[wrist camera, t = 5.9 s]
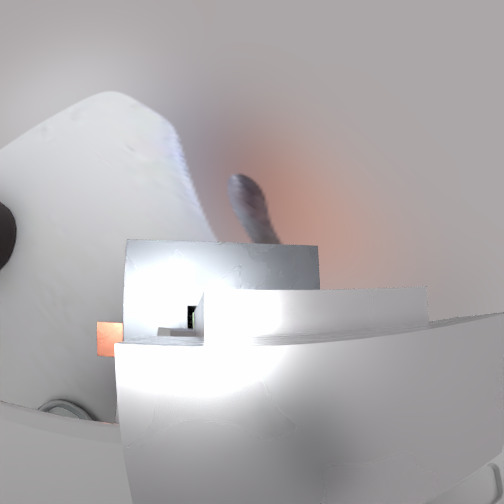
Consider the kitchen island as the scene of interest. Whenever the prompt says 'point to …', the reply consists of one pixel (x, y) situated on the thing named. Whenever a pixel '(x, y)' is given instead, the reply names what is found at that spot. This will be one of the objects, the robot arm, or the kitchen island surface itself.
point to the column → (311, 400)
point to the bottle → (6, 233)
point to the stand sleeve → (198, 280)
